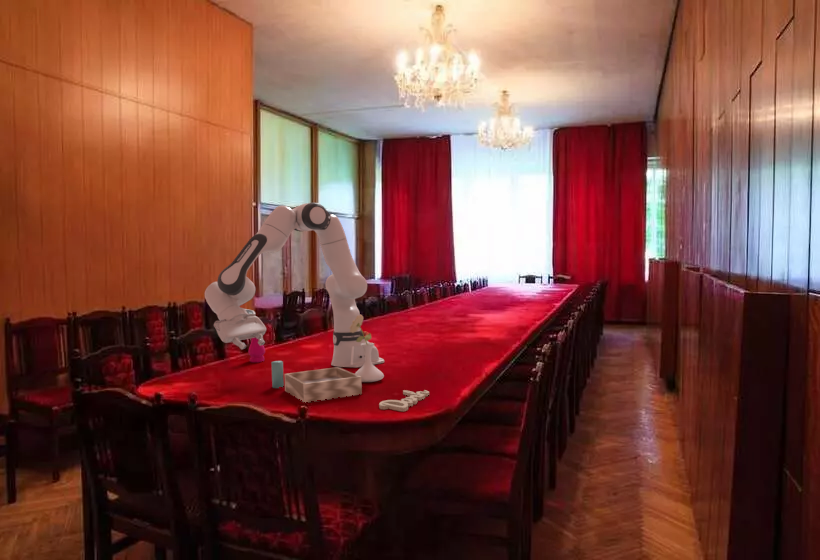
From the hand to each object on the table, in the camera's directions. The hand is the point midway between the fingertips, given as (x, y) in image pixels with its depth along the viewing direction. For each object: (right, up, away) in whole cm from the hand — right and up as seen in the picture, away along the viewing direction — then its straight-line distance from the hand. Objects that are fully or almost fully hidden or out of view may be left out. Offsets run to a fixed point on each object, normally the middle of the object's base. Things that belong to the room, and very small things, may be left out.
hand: (253, 346), depth 225 cm
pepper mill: (-11, -12, +48) cm, 50 cm away
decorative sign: (+56, -15, -30) cm, 65 cm away
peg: (+10, -14, -5) cm, 18 cm away
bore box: (+28, -14, -16) cm, 35 cm away
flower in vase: (+42, -13, 0) cm, 44 cm away
